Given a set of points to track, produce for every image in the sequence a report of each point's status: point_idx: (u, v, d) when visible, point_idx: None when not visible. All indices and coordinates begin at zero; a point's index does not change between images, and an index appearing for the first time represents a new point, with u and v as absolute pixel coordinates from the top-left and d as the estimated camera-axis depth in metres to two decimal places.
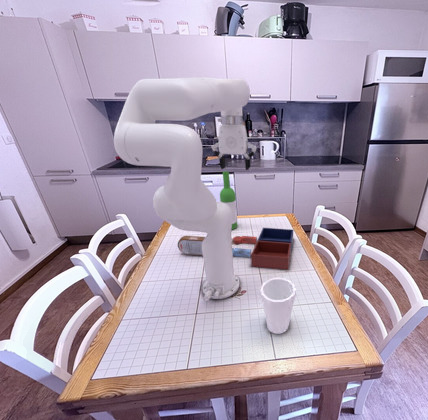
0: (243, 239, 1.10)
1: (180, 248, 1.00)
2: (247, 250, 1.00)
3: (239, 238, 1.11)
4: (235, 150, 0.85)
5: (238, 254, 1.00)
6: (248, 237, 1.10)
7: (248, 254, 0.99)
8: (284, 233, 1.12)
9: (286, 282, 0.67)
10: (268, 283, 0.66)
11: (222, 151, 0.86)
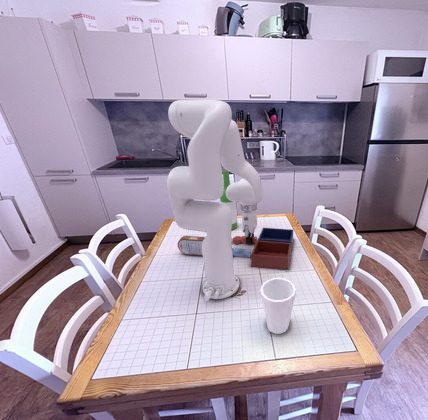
0: (243, 239, 1.10)
1: (180, 248, 1.00)
2: (247, 250, 1.00)
3: (239, 238, 1.11)
4: (256, 225, 1.09)
5: (238, 254, 1.00)
6: None
7: (248, 254, 0.99)
8: (284, 233, 1.12)
9: (286, 282, 0.67)
10: (268, 283, 0.66)
11: (253, 231, 1.04)
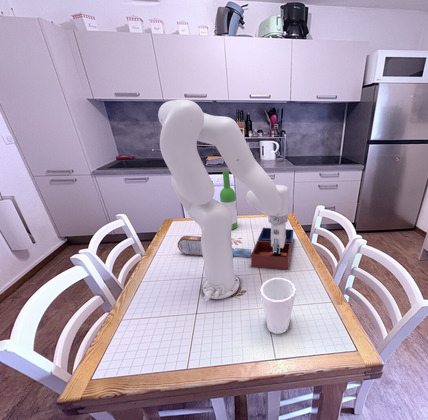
0: None
1: (180, 248, 1.00)
2: (247, 250, 1.00)
3: (267, 254, 0.98)
4: (285, 238, 0.95)
5: (238, 254, 1.00)
6: None
7: (248, 254, 0.99)
8: None
9: (286, 282, 0.67)
10: (268, 283, 0.66)
11: (283, 245, 0.90)
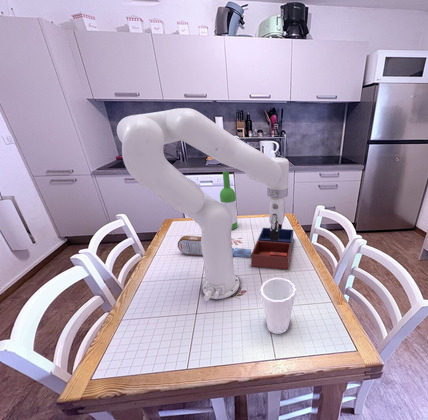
0: None
1: (180, 248, 1.00)
2: (247, 250, 1.00)
3: (267, 254, 0.98)
4: (284, 215, 0.91)
5: (238, 254, 1.00)
6: (277, 253, 0.96)
7: (248, 254, 0.99)
8: (284, 233, 1.12)
9: (286, 282, 0.67)
10: (268, 283, 0.66)
11: (282, 222, 0.86)
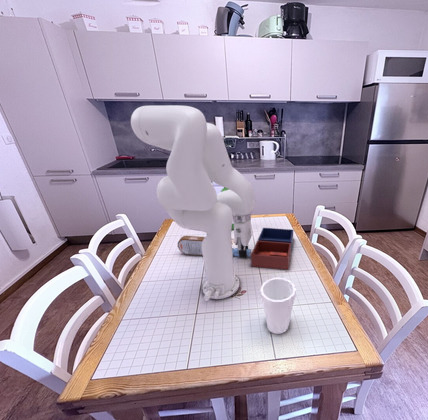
0: None
1: (180, 248, 1.00)
2: (247, 250, 1.00)
3: (267, 254, 0.98)
4: (250, 236, 0.99)
5: (238, 254, 1.00)
6: (277, 253, 0.96)
7: (248, 254, 0.99)
8: (284, 233, 1.12)
9: (286, 282, 0.67)
10: (268, 283, 0.66)
11: (247, 243, 0.94)
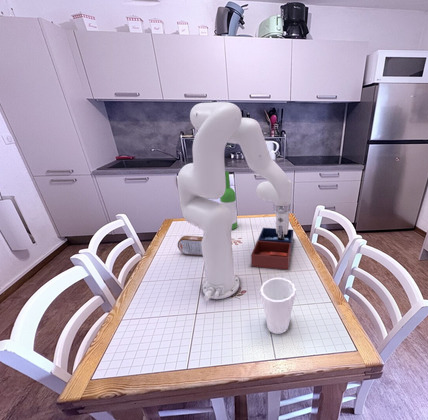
0: None
1: (180, 248, 1.00)
2: (285, 239, 1.08)
3: (267, 254, 0.98)
4: (288, 226, 1.07)
5: None
6: (277, 253, 0.96)
7: None
8: None
9: (286, 282, 0.67)
10: (268, 283, 0.66)
11: (287, 232, 1.02)
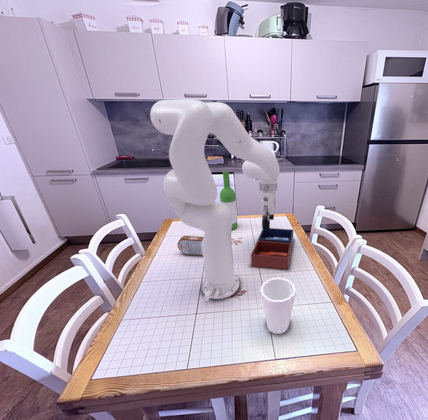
0: None
1: (180, 248, 1.00)
2: (285, 239, 1.08)
3: (267, 254, 0.98)
4: (275, 207, 1.03)
5: None
6: (277, 253, 0.96)
7: None
8: (284, 233, 1.12)
9: (286, 282, 0.67)
10: (268, 283, 0.66)
11: (273, 212, 0.99)
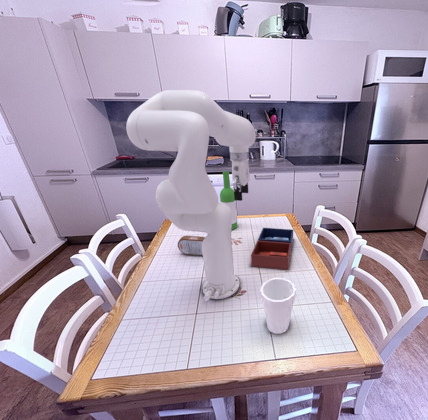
0: None
1: (180, 248, 1.00)
2: (285, 239, 1.08)
3: (267, 254, 0.98)
4: (248, 179, 1.00)
5: None
6: (277, 253, 0.96)
7: None
8: (284, 233, 1.12)
9: (286, 282, 0.67)
10: (268, 283, 0.66)
11: (245, 183, 0.95)
